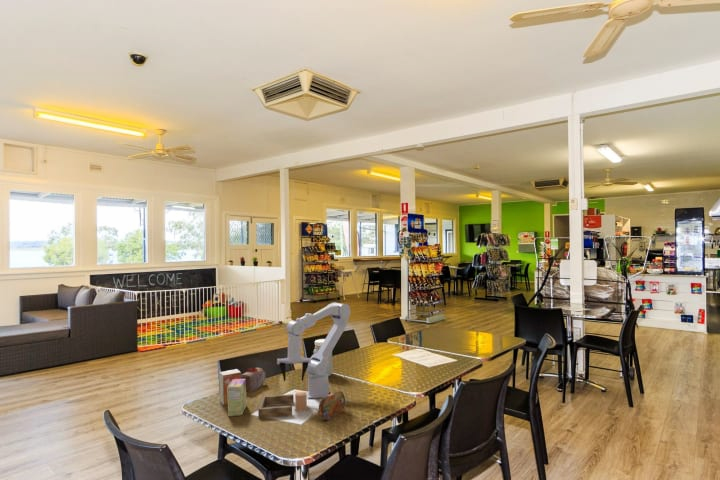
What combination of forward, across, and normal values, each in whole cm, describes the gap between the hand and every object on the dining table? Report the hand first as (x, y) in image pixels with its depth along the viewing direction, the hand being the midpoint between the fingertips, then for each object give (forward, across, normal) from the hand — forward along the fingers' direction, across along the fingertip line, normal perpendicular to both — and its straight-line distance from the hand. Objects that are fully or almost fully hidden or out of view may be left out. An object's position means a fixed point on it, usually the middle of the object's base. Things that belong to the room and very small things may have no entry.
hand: (293, 380), depth 181 cm
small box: (+11, -28, +8) cm, 31 cm away
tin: (+10, +16, -18) cm, 26 cm away
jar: (+8, +15, +35) cm, 39 cm away
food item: (+10, -20, +23) cm, 32 cm away
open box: (+10, -6, -7) cm, 14 cm away
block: (+10, +4, -8) cm, 13 cm away
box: (+11, -23, -5) cm, 26 cm away
